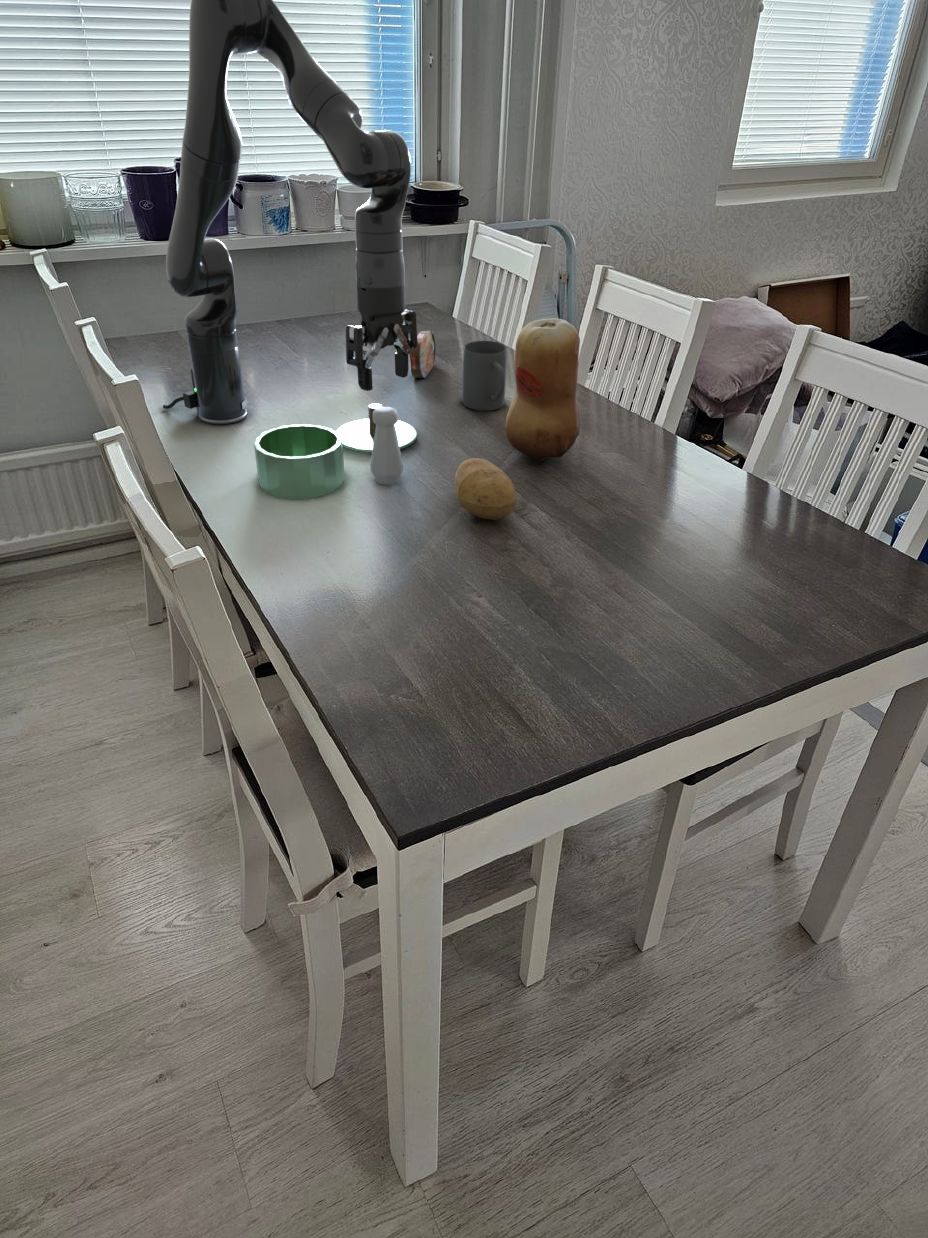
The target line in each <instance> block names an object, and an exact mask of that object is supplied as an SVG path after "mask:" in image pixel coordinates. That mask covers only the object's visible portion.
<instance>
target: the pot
mask: <svg viewBox="0 0 928 1238" xmlns="http://www.w3.org/2000/svg"><path fill="white" fill-rule="evenodd" d="M336 431H337V430H333V429H332V428H330V427H326V426H321V425H319V424H318V425H317V424H305V423H303V424H289V425H282V426H278V427H274V428H271V429H268V430H266V431H263V432H262V433H261V434H259V435H257V437H256V438H255V440H254V442H253V446H254V453H255V454H254V455H255V461H256V462H255V463H256V470H257V478H258V483H259V486H260V488H261V490H262V491H263V492H265V493H266V494H268V495H270V496H273V497H276V498H279V499H286V500H310V499H316V498H321V497H323V496H326V495H329V494H332V493H334V492H336V491H337V490H339V489H340V488H341V487H342V485H343V484H344V482H345V465H344V463H345V462H344V446H342V438H341V436H340V435H339V433H338V432H336Z"/></svg>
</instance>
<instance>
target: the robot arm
mask: <svg viewBox="0 0 928 1238" xmlns="http://www.w3.org/2000/svg"><path fill="white" fill-rule="evenodd" d="M188 28H189V31H188V32H189V33H188V36H189V37H188V44H189V45H188V84H187V98H186V109H185V110H186V112H185V123H184V129H183V134H182V143H181V144H182V145H181V154H180V166H179V168H180V169H179V179H178V188H177V196H176V204H175V209H174V215H173V220H172V225H171V228H170V229H171V230H170V234H169V238H168V243H167V247H166V255H165V272H166V276H167V280H168V283H169V285H170V287H171V289H172V290H173V292H174V293H176V294H177V296H181V297H183V298H195V297H200V296H202V298H201V300H200V302H199V303H198V304H197V305H196V306H195V307H194V308H192V309H191V310H190V312H188V313H187V314H186V315H185V317H184V326H185V327H184V328H185V333H186V338H187V345H188V352H189V358H190V363H191V368H190V369H189V372H190V377H191V384H192V389H191V390H188V391H184V392H182V396H180V397H178V398H175V399H174V400H172V401H171V402H170V404H167V405H166V404H163V405H162V408H163V409H166V410H169V409H172V408H173V407H174V406H175V405H176V404H178V403H179V402H182V401H183V403H184V407H185V408H188V409H190V410H191V409H196V415H198V417H199V420H200V421H201V422H203V423H206V424H210V425H229V424H235V423H238V422H240V421H242V420H245V419H246V418H247V417H248V410H247V406H248V398H246V397H245V390H244V389H245V388H244V382H243V381H244V380H243V372H242V366H241V358H240V357H241V356H240V349H239V343H238V335H237V329H236V328H237V326H236V319H237V312H238V309H237V298H236V284H235V281H236V280H235V272H234V267H233V260H232V257H231V255H230V252H229V250H228V248H227V246H226V245H225V244H224V243H223V242H222V241H220V239H217V238H212V237H210V238H206V235H207V233H208V230H209V228H210V226H211V224H213V221H214V220H215V218H216V217H217V216H218V215H219V213H220V211H221V210H222V209H223V207H225V205H226V203H227V202H228V200H229V199H230V197H231V195H232V194H233V192H234V190H235V187H236V184H237V182H238V178H239V171H240V166H241V159H242V153H243V151H242V150H243V142H242V141H243V140H242V135H241V131H240V128H239V125H238V123H237V121H236V118H235V115H234V113H233V111H232V108H231V106H230V103H229V101H228V96H227V78H228V77H227V76H228V70H229V69H228V68H229V62H230V58H231V56H232V55H242V54H243V55H244V54H252V53H255V54H258V55H259V56H260V57H262V58H264V59H265V60H267V62H269V63H270V64H272V65H273V66H274V67H275V68H276V70H277V71H278V72H279V74H280V76H281V78H282V82H283V87H284V89H285V93H286V95H287V99H288V102H289V104H290V105H291V107H292V108H293V110H294V111H295V113H296V115H297V116H298V117H299V118H300V120H302V121H303V122H304V123H305V125H307V126H308V127H309V128H310V129H311V130H312V132H313V133H314V134H315V135H316V136H317V137H318V138H319V139H320V140H321V141H322V142H323V143H324V145H325V148H326V149H327V152H328V153H329V155H330V157H331V159H332V161H333V162H334V164H335V166H336V167H337V169H338V171H339V172H340V174H341V175H342V176H343V178H344V179H345V180H347V181H348V183H350V184H352V185H353V186H355V187H357V188H359V189H364V190H365V189H366V190H368V189H371V190H370V195H369V199H368V200H367V201H366V202H365V203H364V204H362V205H361V206H360V207H358V208H357V209H356V211H355V213H354V232H355V263H354V264H355V265H354V267H355V269H354V271H355V288H356V305H357V307H356V308H357V311H358V312H359V314H360V316H361V320H360V325H355V326H354V325H349V324H348V325H346V327H345V354H346V355H345V356H346V357H345V359H346V361H345V362H346V364H347V365H349V366H354V367H356V369H357V384H358V386H359V388H360V390H362V391H365V392H370V391H372V390H373V369H372V367H371V366H372V364H373V361H374V359H375V357H377V356H378V355H379V352H380V350H382V349H384V348H385V349H386V347H388V346H389V347H390V346H392V348H393V349H394V351H395V353H394V373H395V375H396V376H397V377H399V378H407V377H408V376H409V370H410V369H409V368H410V367H409V366H410V365H409V355H410V350H411V349H412V348H416V347H417V345H418V343H417V335H418V328H417V327H418V326H417V312H415V311H414V310H409V309H406V274H405V273H406V272H405V271H406V270H405V269H406V268H405V259H404V253H403V252H404V251H403V223H402V221H403V215H404V211H405V207H406V202H407V197H408V193H409V187H410V183H411V182H410V181H411V174H412V157H411V152H410V149H409V146H408V143H407V142H406V140H405V138H404V137H403V136H402V135H401V134H400V133H399V132H397V131H395V130H391V129H384V130H375V131H365V130H363V129H362V126H363V113H362V110H361V108H360V106H359V105H358V104H357V102H355V100H354V99H353V98H352V97H351V96H350V95H349V94H348V93H347V92H346V91H345V90H344V89H343V88H342V87H341V86H340V85H339V83H337V81H336V80H334V78H332V77H331V75H330V74H328V72H326V70H325V69H324V68H323V67H322V66H321V65H320V63H318V61H317V60H316V59H315V58H314V56H313V55H312V54H311V52H310V51H309V50H308V48H307V47H306V45H305V44H304V43H303V41H302V40H301V38H300V37H299V35H298V33H296V31H295V30H294V29H293V27H292V26H291V24H290V23H289V21H288V20H287V19H286V17H285V16H284V14H283V13H282V11H281V10H280V7H278V5H277V4H276V3H275V1H274V0H190V7H189V26H188ZM368 345H369V346H370V347H369V346H368Z"/></svg>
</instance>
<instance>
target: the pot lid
mask: <svg viewBox="0 0 928 1238" xmlns="http://www.w3.org/2000/svg"><path fill="white" fill-rule="evenodd" d="M367 407H368V408H367V409H368V418H363V419H358V420H353V421H350V422H347V423H344V424H343V425H341V426H340V427H338V428H337V429H336V430H335V431H336V432H338V433H339V435H340V436H341V438H342V446H343V448H346V449H349V450H352V451H356V452H362V453H372V450H373V443H374V436H375V429H376V424H375V423H374V422H373V411H374V410H375V409H376V408H379V407H383V405H382V404H380V403H371V404H369V405H368V406H367ZM395 428H396V433H397V438H398V443H399V448H400V450H402V449H405V448H407V447H409V446H411V445H412V444H414V443H415V441H416V440H417V435H418V433H417V430H416V429H415V427H413V426H412V425H411V424H409V423H408V422H405V421H401V420H398V421H397V423H396V424H395Z"/></svg>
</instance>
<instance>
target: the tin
mask: <svg viewBox="0 0 928 1238" xmlns="http://www.w3.org/2000/svg"><path fill="white" fill-rule="evenodd" d="M417 343H418V345H417V347H416V348H412V349H411V350H410V353H409V361H410V362H409V363H410V373H411V375H412V377H413V378H424V379H425V378H427V376H428V374H429V373H430V371H431V370H432V369H433V367H434V365H435V363H436V362H435V361H436V339H435V334H434V332H433V330H421V331H419V333H417Z"/></svg>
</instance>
